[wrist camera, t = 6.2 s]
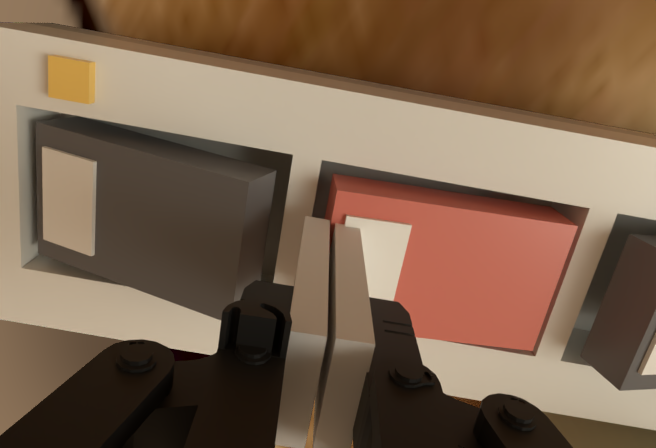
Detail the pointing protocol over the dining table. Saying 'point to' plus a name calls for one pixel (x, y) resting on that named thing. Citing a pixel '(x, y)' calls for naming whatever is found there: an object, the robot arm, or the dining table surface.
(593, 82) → the dining table surface
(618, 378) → the rocker
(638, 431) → the can
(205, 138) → the strip
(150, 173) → the rocker
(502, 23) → the dining table surface
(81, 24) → the dining table surface
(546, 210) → the rocker mid
